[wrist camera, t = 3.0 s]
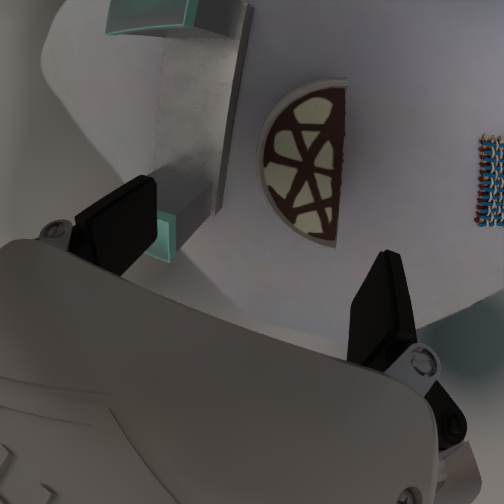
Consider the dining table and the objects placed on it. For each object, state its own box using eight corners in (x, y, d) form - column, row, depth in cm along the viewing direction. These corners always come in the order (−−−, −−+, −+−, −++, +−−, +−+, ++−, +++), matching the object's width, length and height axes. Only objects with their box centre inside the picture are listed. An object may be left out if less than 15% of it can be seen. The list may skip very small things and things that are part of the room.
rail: (254, 8, 18) (247, 3, 16) (221, 207, 32) (214, 215, 30) (181, 8, 19) (171, 5, 17) (164, 191, 33) (155, 198, 31)
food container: (278, 77, 22) (243, 74, 14) (344, 80, 20) (347, 75, 12) (281, 194, 29) (253, 244, 21) (339, 200, 27) (334, 255, 19)
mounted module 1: (243, 1, 16) (195, -28, 9) (235, 40, 19) (183, 25, 12) (174, 3, 17) (112, -11, 10) (168, 39, 20) (103, 35, 13)
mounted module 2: (214, 181, 28) (168, 222, 21) (211, 215, 30) (169, 262, 23) (158, 167, 29) (104, 201, 22) (157, 199, 31) (109, 238, 24)
